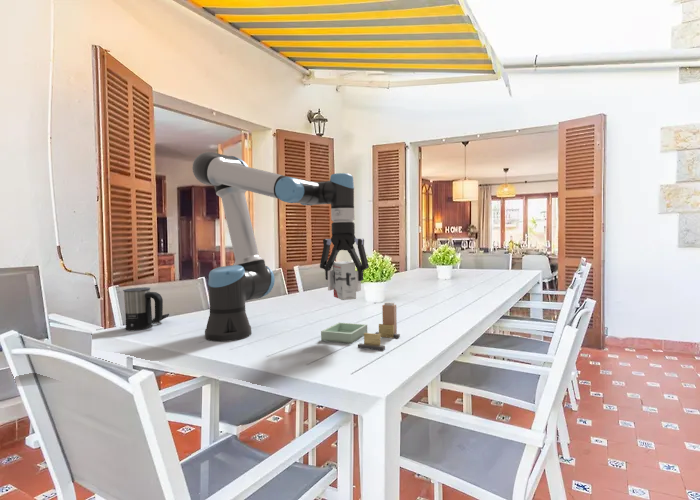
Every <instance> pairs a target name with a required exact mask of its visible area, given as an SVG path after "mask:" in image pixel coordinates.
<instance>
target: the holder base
mask: <svg viewBox="0 0 700 500" xmlns="http://www.w3.org/2000/svg"><path fill="white" fill-rule="evenodd" d="M374 334H379V331H377V332H374ZM400 337H401V334H400V333H397V334H394V338H393V339H400ZM357 348H358V349H365V350H374V351H385V350H386V346H385V345H370V344H364V343H362V342H361V343H360V342H359V344H357Z"/></svg>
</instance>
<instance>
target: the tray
mask: <svg viewBox="0 0 700 500" xmlns="http://www.w3.org/2000/svg"><path fill="white" fill-rule="evenodd" d="M364 333H368V324H366V323H365V324H363V323H351V322H338V323H335V324H332V325H331V326H329V327H326V328H325V329H323V330H320V339H321V341H323V342H332V343H344V344H353V343H355V342H356V341H358V340H359V339H362V338H364Z"/></svg>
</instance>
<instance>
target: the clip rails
mask: <svg viewBox="0 0 700 500" xmlns="http://www.w3.org/2000/svg"><path fill="white" fill-rule="evenodd" d="M378 332H379V334H375V333H369V332H367V333H364V336H363V341H364V342H363V344H370V345H381V340H382V339H381V338H385V339H387V338H388V339H395V338H394V325H387V324H383V323H378Z"/></svg>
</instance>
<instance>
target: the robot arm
mask: <svg viewBox="0 0 700 500" xmlns="http://www.w3.org/2000/svg"><path fill="white" fill-rule="evenodd" d="M191 168H192V173H193V176H194V177H195V178H196V181H198V182H200V183H201V184H203V185H206V186H212V187H214V190H215V194H216V196H218V197H219V198H220V199H221V202H222V207H223V211H224V216H225V220H226V224H227V228H228V235H229V238H230V242H231V243H230V244H231V246H232V250H233V251H232V252H233V255H234V259H235V260H234V263H233V265H226V266H225V265H224V266H219V267H216V268H215V267H214V269H212V270H210V271H209V274H208V282H207V285H208V300H209V301H208V302H209V305H208V306H209V316H208V318H207V319H208V320H207V325H206V328H205V329H204V339H205V340H208V341H213V342H227V341H228V342H229V341H235V340H236V341H237V340H242V339H245V338H247V337H250V336H251V335H252V326H251V325H250V321H249V318H248V315H247V311H246V302H248V301H252V300H255V299H261V298H263V297H265V296H267V295H269V294H270V293H271V292H272V290H273V288H274V287H275V278H276V277H275V274H274V272H273V270H272V269H271V268H270V267H269V266H267V265H266V261H265V258H263V257H261V256H260V255H259V251H258V246H257V242H256V238H255V233H254V230H253V224H252V220H251V214H250V212H249V207H248V203H247V202H248V201H247V198H246V192H251V193H255V194H257V195H262V196H266V197H271V198H275V199H279V200H280V201H282V202H285V203H287V204H300V205H302V206H315V205H316V206H317V205H318V206H319V205H330V213H331V216H330V217H331V221H332V223H331V237H330V238H324V239H322V243H323V244H322V245H323V247H322V253H321V257H320V262H319V268H320V269H322V270H324V272H325V280H326V281H327V291H332V290H333V291H334V288H333V263H334V262H336V258H337V257H338V254H339V253H340V251H347V252H348V254H349V255H350V257H351V260H352V262H354V263H355V269H356V270H355V286H356V293H357V292H358V293H359V292H361V291H362V281H364V271H365V270H367V269H370V268H369V267H370V266H369V262H368V257H367V253H366V249H365V239H364V238H358V237H357V238H356V236H355V233H356V232H355V228H356V227H355V222H354V221H355V185H354V177H353V175H352V174H350V173H347V172H346V173H344V172H342V173H341V172H338V173H332V174H330V179H329V180H328V181H327V180H326V181H312V180H307V179H300V178H297V177H292V176H288V175H287V176H286V175H283V174H279V173H276V172H271V171H266V170H262V169H258V168H253V167H249V165H248V164H247V162H246V161H244V160H243V159H241V158H239V157H236V156H233V155H227V154H221V153H218V152H217V153H216V152H212V151H205V152H202V153H200V154H198V155H197V156H196V157H195V159H194V160H193V162H192V167H191ZM355 244H356V246H357V250H358V254H359V256H358V254H357V251H356V249H355V246H354V245H355ZM331 245H333V247H332V250H331V254H330V249H331Z"/></svg>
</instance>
